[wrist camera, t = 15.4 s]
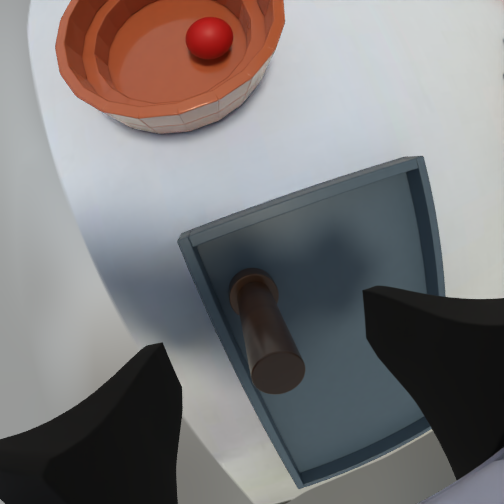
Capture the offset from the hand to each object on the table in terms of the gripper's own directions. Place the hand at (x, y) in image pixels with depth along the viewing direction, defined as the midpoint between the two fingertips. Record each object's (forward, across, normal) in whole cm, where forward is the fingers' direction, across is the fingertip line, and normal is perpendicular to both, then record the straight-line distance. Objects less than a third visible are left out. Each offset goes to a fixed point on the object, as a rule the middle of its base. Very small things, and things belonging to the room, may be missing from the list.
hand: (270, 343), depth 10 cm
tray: (+8, -5, +8) cm, 12 cm away
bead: (+6, -1, -13) cm, 14 cm away
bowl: (+8, +1, -14) cm, 15 cm away
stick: (+7, 0, +1) cm, 7 cm away
